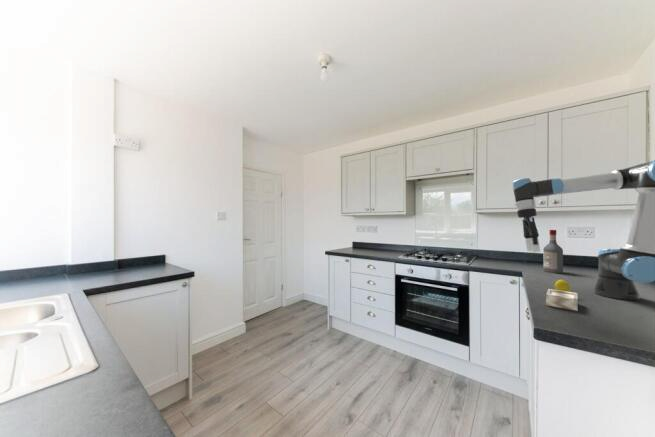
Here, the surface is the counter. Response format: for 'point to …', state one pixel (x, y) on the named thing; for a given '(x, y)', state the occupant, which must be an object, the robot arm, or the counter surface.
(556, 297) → the display riser
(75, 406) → the counter surface
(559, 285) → the lemon
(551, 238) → the liquor
